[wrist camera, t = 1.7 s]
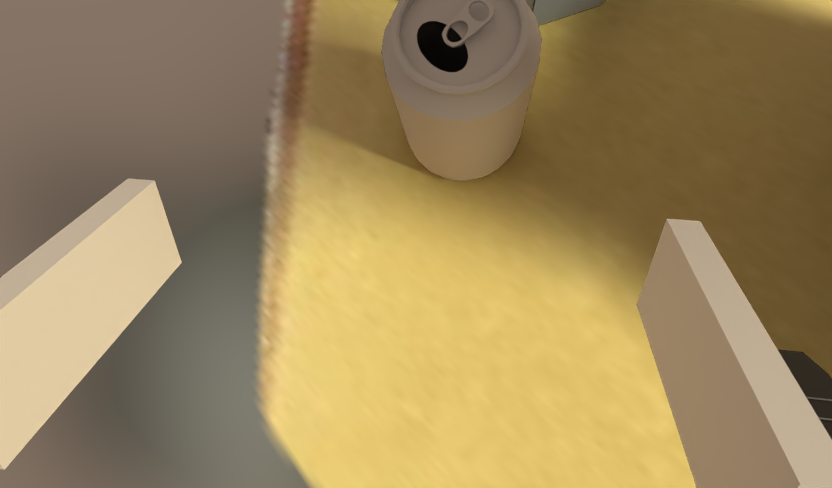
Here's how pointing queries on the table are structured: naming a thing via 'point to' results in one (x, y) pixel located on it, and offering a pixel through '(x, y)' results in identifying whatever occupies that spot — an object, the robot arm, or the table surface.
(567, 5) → the bowl
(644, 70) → the table surface
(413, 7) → the can
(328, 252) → the table surface
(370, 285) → the table surface
